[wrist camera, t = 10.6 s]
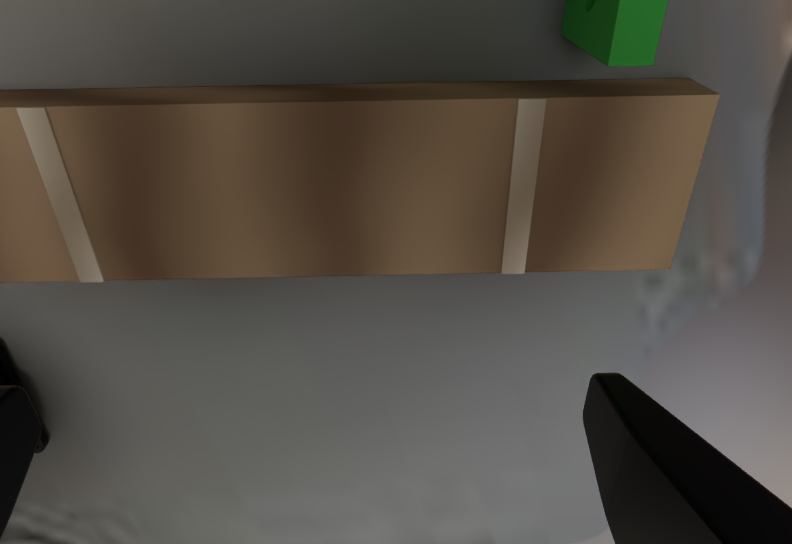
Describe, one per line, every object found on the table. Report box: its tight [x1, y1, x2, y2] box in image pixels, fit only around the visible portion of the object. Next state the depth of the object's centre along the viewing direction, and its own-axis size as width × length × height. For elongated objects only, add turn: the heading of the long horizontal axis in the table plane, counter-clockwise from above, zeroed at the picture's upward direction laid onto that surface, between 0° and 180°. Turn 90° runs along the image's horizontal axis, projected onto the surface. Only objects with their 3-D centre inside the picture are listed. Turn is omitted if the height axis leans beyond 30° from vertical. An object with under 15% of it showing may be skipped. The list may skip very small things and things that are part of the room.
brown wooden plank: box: [0, 78, 720, 283], centre depth 19 cm, size 24×6×2 cm, turn 91°
